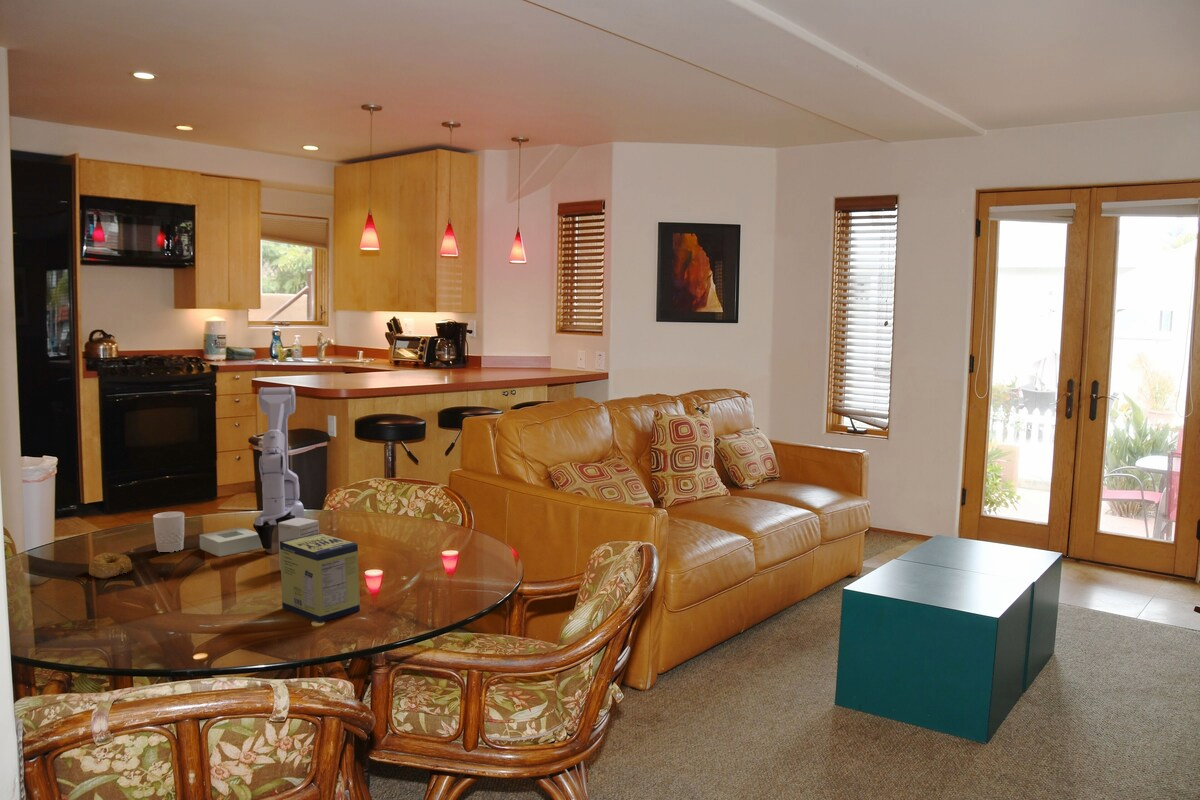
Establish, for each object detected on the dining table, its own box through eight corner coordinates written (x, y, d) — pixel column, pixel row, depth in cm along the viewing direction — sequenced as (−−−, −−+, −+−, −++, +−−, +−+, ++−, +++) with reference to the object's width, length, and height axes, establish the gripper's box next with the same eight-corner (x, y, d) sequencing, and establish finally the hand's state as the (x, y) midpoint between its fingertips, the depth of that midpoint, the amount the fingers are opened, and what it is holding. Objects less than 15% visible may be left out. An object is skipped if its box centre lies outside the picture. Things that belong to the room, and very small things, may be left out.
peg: (278, 548, 252) (277, 524, 251) (286, 551, 249) (285, 526, 249) (265, 551, 249) (264, 526, 248) (272, 554, 246) (271, 529, 246)
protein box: (321, 596, 211) (319, 531, 209) (361, 611, 201) (359, 543, 200) (280, 608, 203) (278, 541, 201) (320, 623, 193) (318, 553, 191)
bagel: (83, 581, 223) (82, 562, 222) (95, 569, 233) (94, 551, 233) (127, 578, 225) (126, 559, 225) (137, 566, 236) (136, 548, 235)
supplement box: (278, 570, 231) (276, 522, 230) (300, 563, 238) (298, 516, 237) (299, 574, 228) (297, 525, 227) (321, 567, 235) (319, 519, 233)
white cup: (177, 553, 247) (175, 517, 246) (149, 553, 247) (147, 517, 246) (191, 546, 254) (189, 511, 253) (163, 546, 255) (161, 511, 254)
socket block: (241, 540, 261) (240, 526, 260) (261, 548, 253) (261, 534, 252) (200, 548, 252) (199, 534, 251) (219, 556, 244) (219, 542, 243)
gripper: (277, 490, 256) (279, 537, 257) (244, 501, 242) (246, 550, 243) (298, 492, 254) (300, 539, 255) (266, 502, 240) (268, 552, 241)
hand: (275, 545), depth 249 cm, fingers open, 7 cm apart
